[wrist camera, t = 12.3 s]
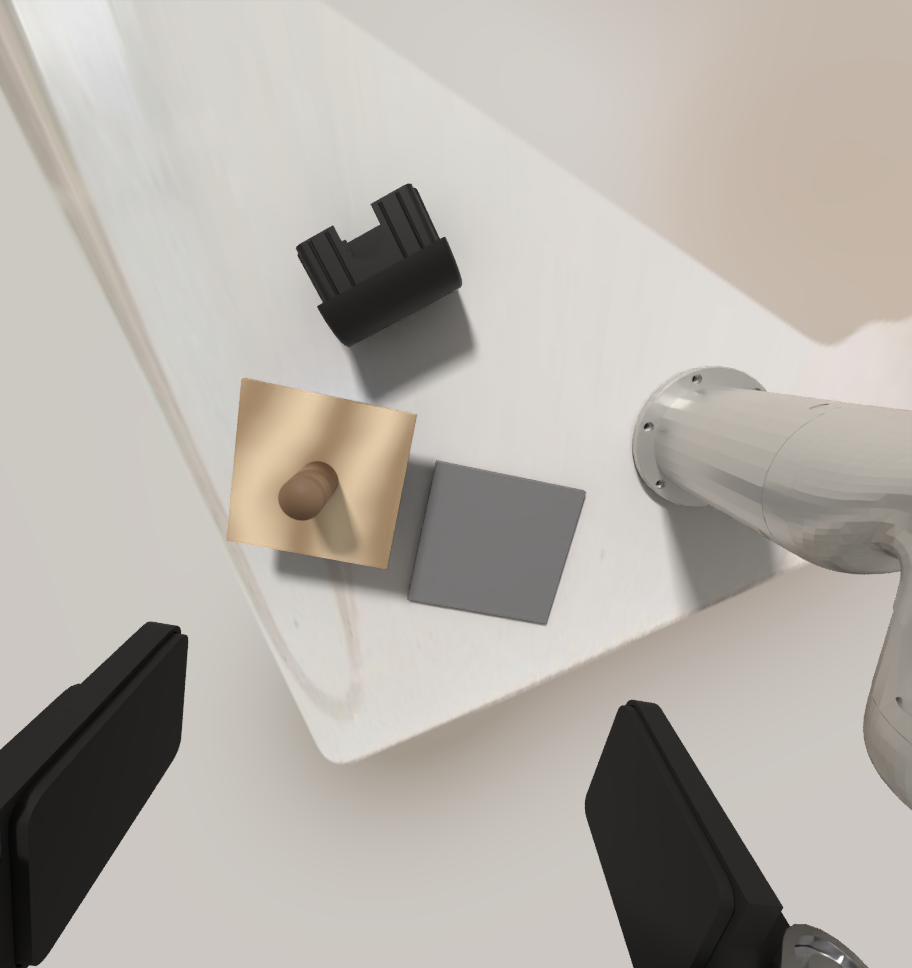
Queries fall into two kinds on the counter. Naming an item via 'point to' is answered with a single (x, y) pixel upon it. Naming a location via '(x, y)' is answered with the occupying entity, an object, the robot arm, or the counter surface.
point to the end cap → (380, 268)
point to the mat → (493, 542)
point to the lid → (317, 474)
